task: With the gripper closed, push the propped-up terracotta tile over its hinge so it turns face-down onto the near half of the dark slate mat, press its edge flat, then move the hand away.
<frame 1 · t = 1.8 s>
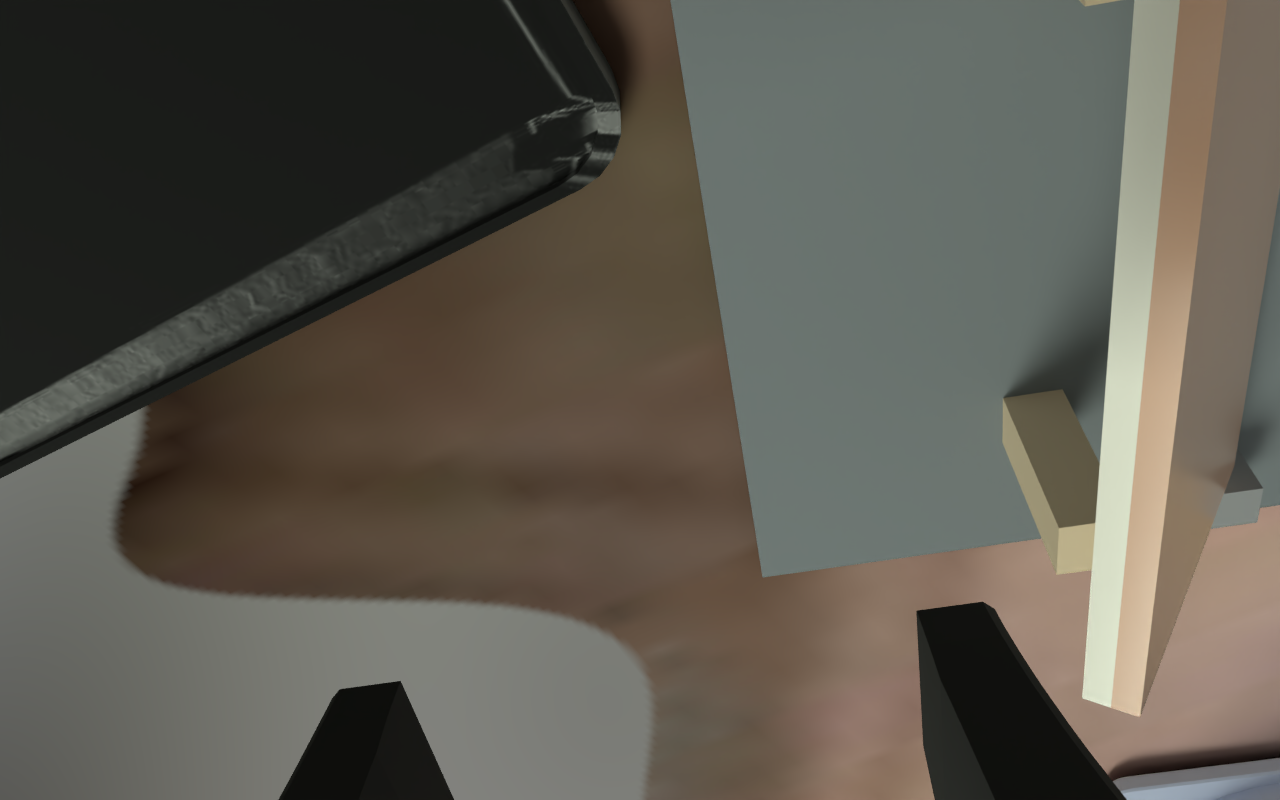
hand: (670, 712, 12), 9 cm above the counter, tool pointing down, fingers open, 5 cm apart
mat: (1227, 133, 19), on the counter
phone: (91, 126, 19), on the counter
tile: (1207, 265, 16), point 3 cm above the counter, hinge at 56.0°
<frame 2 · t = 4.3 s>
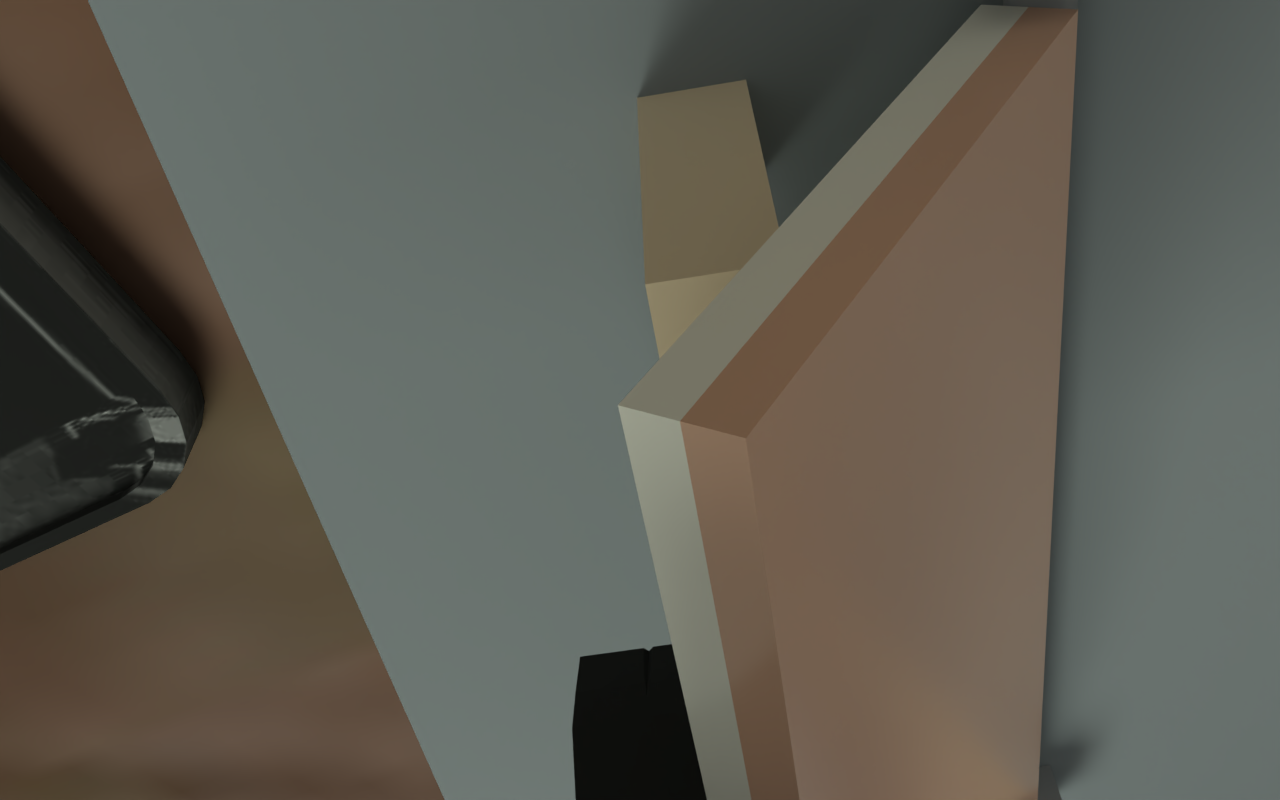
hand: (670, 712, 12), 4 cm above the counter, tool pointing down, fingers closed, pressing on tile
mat: (1001, 424, 14), on the counter
tile: (927, 666, 12), point 3 cm above the counter, hinge at 56.9°, touching gripper
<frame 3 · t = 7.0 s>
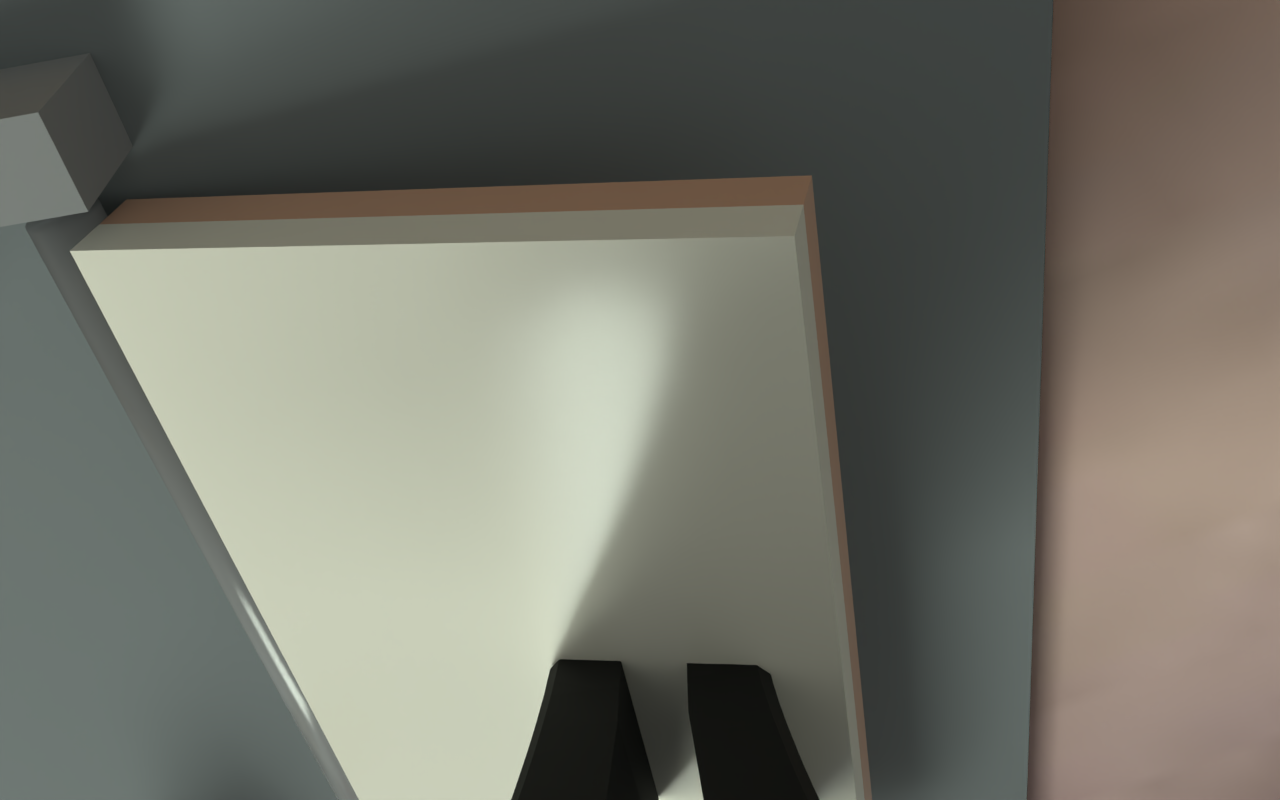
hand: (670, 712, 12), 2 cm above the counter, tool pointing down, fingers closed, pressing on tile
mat: (314, 598, 14), on the counter
tile: (543, 689, 12), point 2 cm above the counter, hinge at 164.3°, touching gripper
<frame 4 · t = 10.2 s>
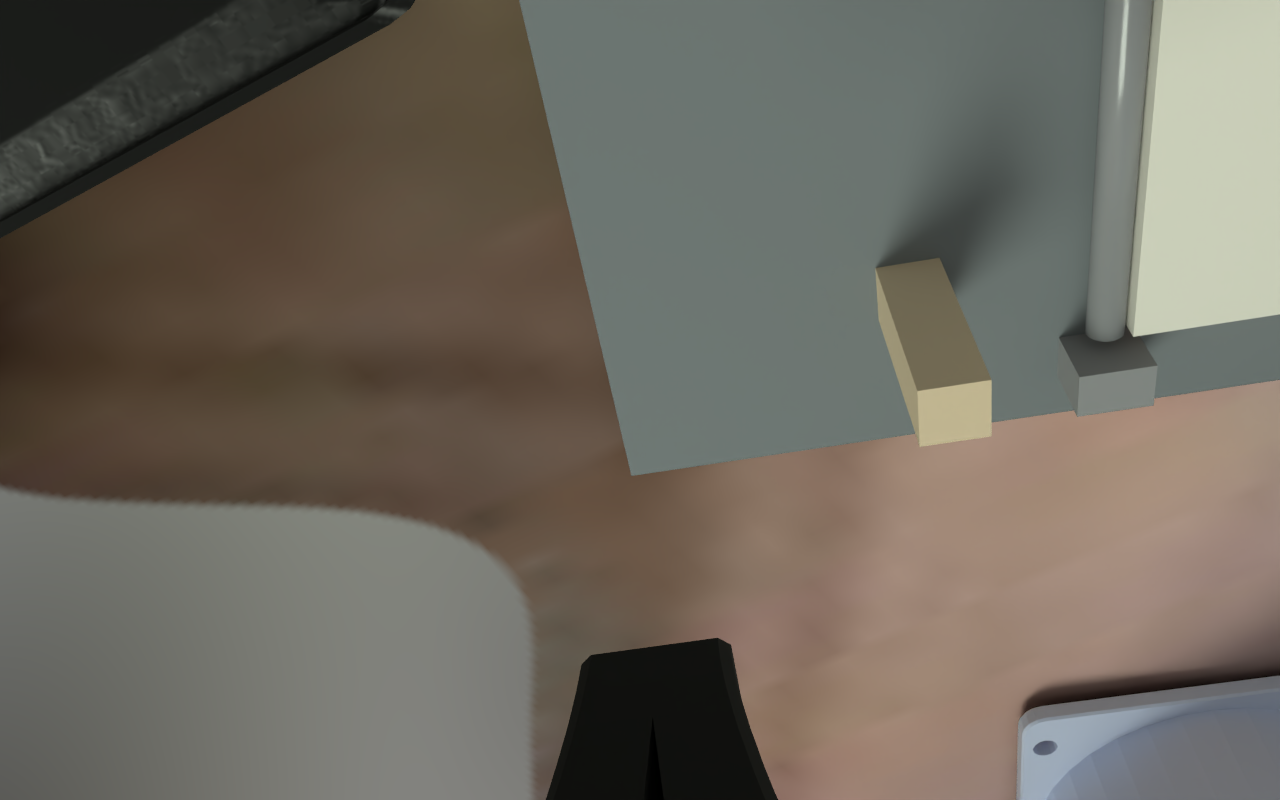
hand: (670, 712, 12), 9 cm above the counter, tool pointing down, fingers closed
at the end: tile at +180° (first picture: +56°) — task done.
